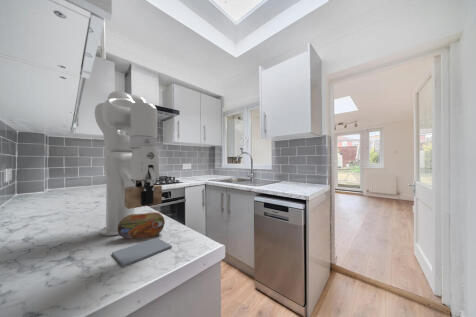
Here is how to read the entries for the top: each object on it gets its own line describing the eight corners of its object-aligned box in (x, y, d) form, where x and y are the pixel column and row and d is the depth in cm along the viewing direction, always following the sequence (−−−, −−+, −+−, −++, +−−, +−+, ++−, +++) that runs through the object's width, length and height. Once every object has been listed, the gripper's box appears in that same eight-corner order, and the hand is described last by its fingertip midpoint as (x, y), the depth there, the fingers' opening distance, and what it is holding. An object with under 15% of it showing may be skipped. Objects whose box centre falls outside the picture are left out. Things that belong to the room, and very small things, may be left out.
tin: (117, 240, 59) (117, 216, 59) (120, 237, 62) (121, 213, 62) (164, 235, 63) (164, 212, 63) (165, 232, 66) (165, 210, 66)
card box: (156, 201, 56) (156, 184, 57) (161, 203, 53) (161, 185, 54) (124, 206, 50) (124, 187, 50) (128, 208, 47) (128, 188, 47)
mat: (111, 254, 49) (111, 252, 49) (156, 239, 59) (156, 237, 59) (123, 267, 43) (123, 264, 43) (171, 247, 53) (171, 245, 53)
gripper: (169, 142, 50) (169, 204, 49) (145, 147, 61) (144, 198, 60) (142, 139, 44) (141, 210, 43) (120, 145, 55) (119, 202, 54)
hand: (143, 202), depth 52 cm, fingers closed on card box, 4 cm apart
